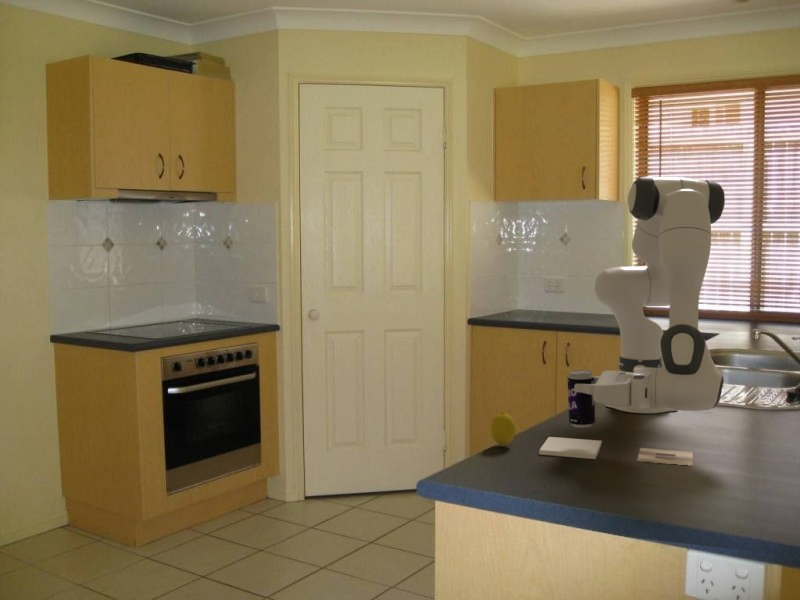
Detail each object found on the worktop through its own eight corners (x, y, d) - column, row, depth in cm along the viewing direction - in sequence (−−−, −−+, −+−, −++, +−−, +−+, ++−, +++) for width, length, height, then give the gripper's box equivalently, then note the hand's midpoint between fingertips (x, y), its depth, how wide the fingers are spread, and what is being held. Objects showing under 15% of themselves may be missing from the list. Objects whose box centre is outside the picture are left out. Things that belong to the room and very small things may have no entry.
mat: (548, 441, 189) (548, 436, 189) (601, 445, 185) (601, 440, 184) (539, 454, 177) (539, 449, 177) (595, 459, 173) (595, 454, 173)
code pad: (640, 448, 181) (640, 447, 181) (692, 452, 177) (692, 451, 177) (636, 461, 171) (636, 460, 171) (692, 466, 167) (692, 465, 167)
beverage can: (576, 421, 184) (574, 369, 183) (599, 424, 180) (598, 370, 179) (564, 426, 180) (562, 373, 179) (587, 429, 176) (586, 374, 175)
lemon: (501, 442, 188) (501, 408, 188) (520, 446, 184) (520, 411, 184) (485, 446, 184) (485, 412, 184) (505, 451, 180) (505, 415, 180)
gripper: (645, 365, 184) (583, 362, 189) (639, 381, 165) (570, 378, 170) (644, 392, 185) (583, 389, 189) (638, 412, 166) (570, 407, 170)
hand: (576, 384), depth 179 cm, fingers closed on beverage can, 6 cm apart
